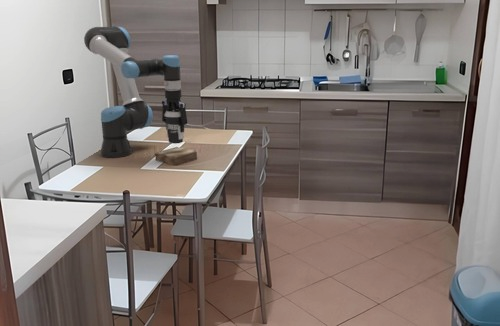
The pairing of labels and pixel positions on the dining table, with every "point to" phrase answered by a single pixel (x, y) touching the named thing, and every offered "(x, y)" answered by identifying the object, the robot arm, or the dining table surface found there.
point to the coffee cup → (173, 126)
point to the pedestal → (176, 156)
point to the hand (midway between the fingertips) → (175, 137)
